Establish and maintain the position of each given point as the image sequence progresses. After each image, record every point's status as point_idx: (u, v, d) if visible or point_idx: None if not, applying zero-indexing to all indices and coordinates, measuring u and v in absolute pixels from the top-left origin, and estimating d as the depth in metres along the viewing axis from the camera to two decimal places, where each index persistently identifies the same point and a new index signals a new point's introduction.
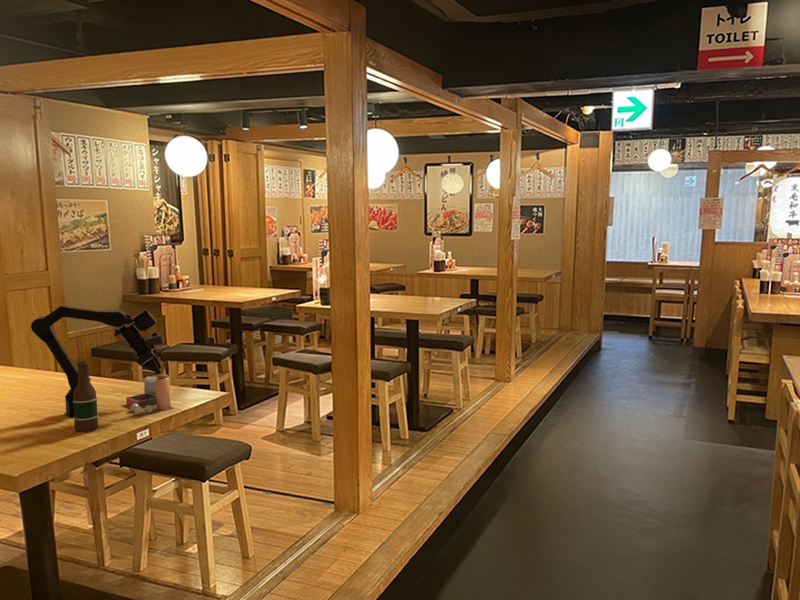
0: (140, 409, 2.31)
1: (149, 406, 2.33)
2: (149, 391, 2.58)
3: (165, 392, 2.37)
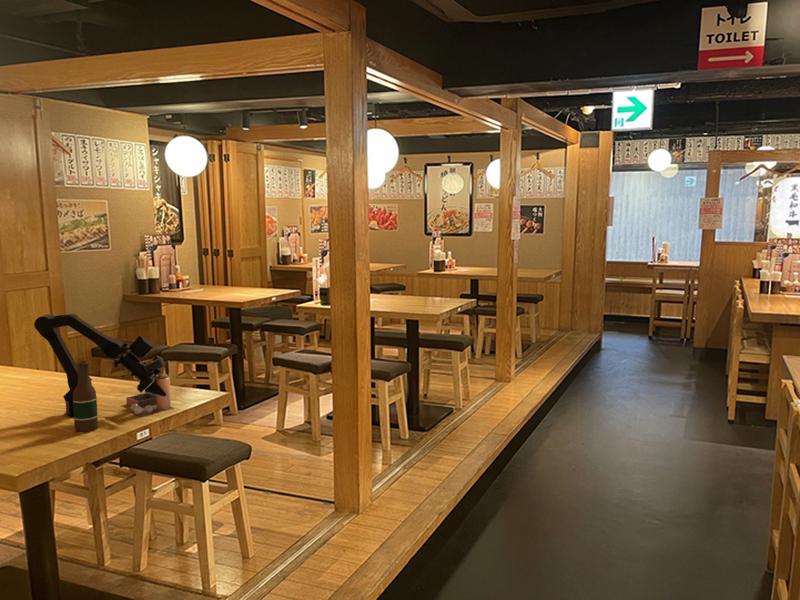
0: (140, 409, 2.31)
1: (149, 406, 2.33)
2: None
3: (165, 392, 2.37)
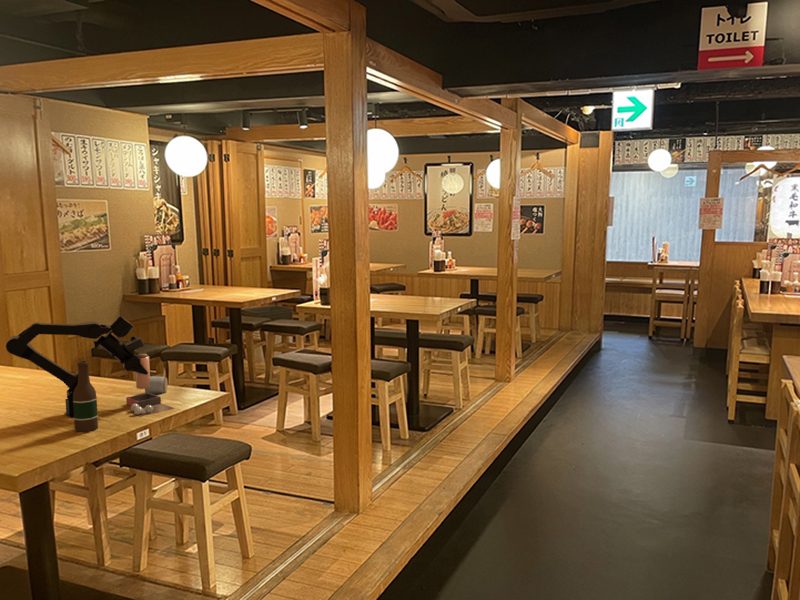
0: (140, 409, 2.31)
1: (149, 406, 2.33)
2: (150, 390, 2.59)
3: (146, 370, 2.42)
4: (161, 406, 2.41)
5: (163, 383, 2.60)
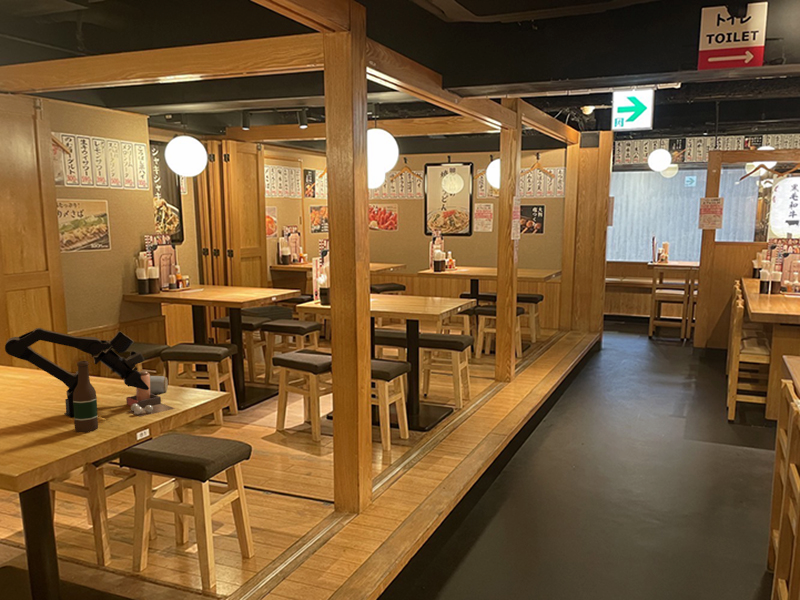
0: (140, 409, 2.31)
1: (149, 406, 2.33)
2: (150, 390, 2.59)
3: None
4: (161, 406, 2.41)
5: (163, 383, 2.60)
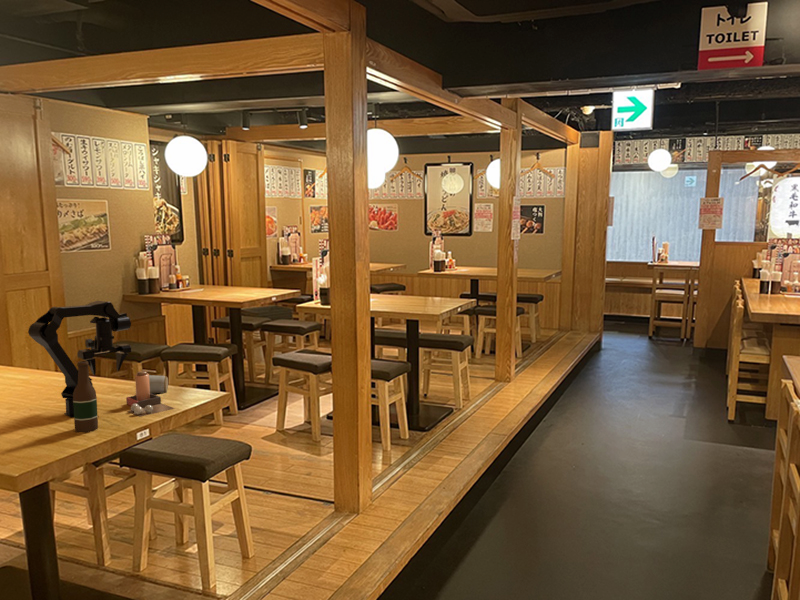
0: (140, 409, 2.31)
1: (149, 406, 2.33)
2: (150, 389, 2.60)
3: (146, 388, 2.43)
4: (161, 406, 2.41)
5: (164, 382, 2.61)
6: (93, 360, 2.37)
